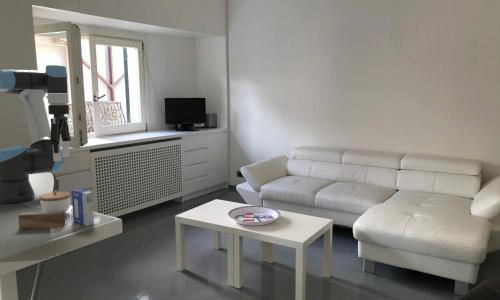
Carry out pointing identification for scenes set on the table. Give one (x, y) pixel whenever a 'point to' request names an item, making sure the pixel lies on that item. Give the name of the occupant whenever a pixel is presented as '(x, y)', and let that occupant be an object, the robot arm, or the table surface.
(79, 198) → the walkman
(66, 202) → the lidded jar
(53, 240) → the table surface
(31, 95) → the robot arm
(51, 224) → the bar
